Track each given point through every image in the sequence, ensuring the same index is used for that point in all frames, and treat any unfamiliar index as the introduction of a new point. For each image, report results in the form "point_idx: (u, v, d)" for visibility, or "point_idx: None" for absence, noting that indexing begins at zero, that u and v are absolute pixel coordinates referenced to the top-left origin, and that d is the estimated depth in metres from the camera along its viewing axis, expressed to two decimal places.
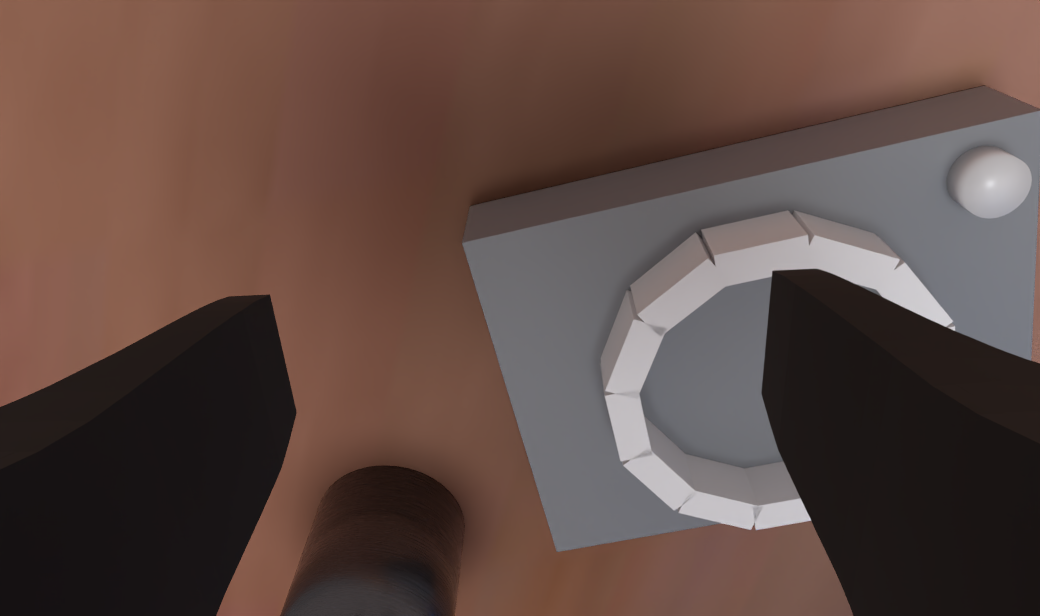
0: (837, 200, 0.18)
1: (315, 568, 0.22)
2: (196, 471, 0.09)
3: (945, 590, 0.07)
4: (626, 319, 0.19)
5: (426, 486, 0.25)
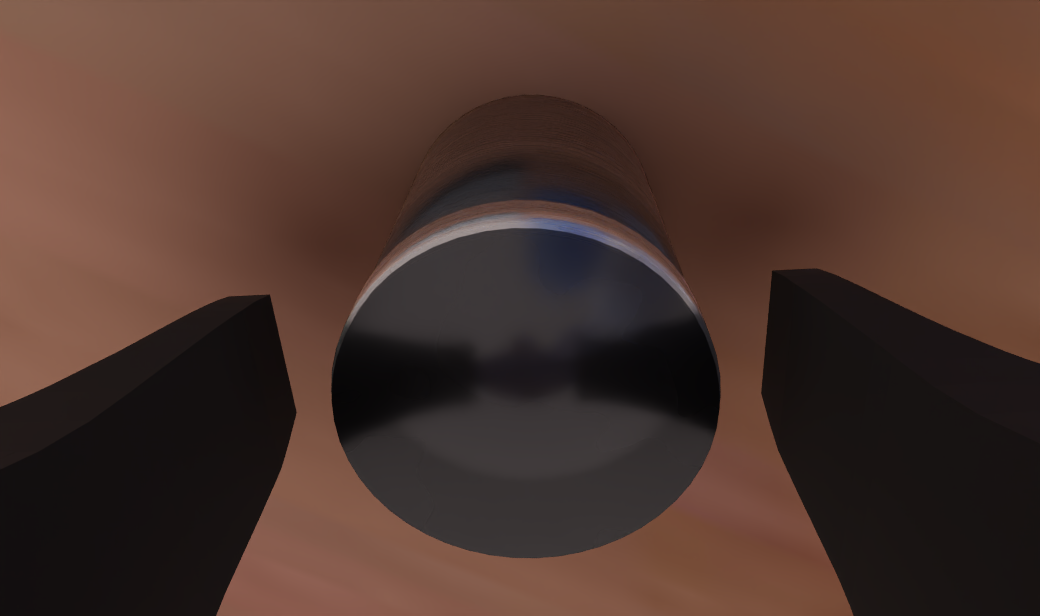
0: None
1: None
2: (196, 471, 0.09)
3: (945, 590, 0.07)
4: None
5: (439, 140, 0.15)
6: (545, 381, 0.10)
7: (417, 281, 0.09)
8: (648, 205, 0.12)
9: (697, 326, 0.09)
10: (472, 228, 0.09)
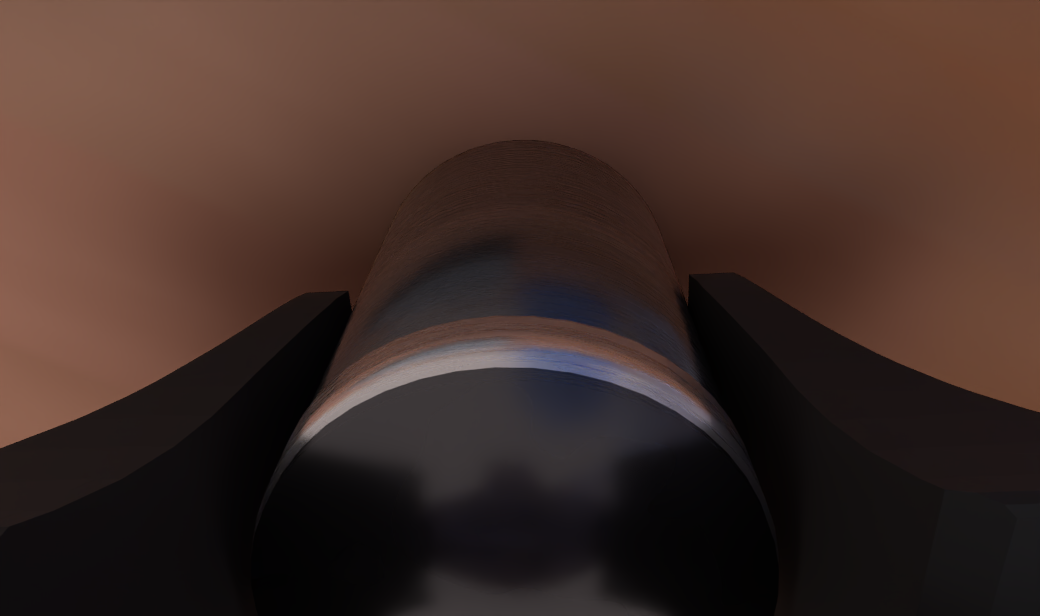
0: None
1: None
2: None
3: (810, 594, 0.07)
4: None
5: (412, 195, 0.12)
6: (541, 563, 0.07)
7: (362, 440, 0.07)
8: (672, 294, 0.09)
9: (752, 497, 0.07)
10: (437, 365, 0.07)
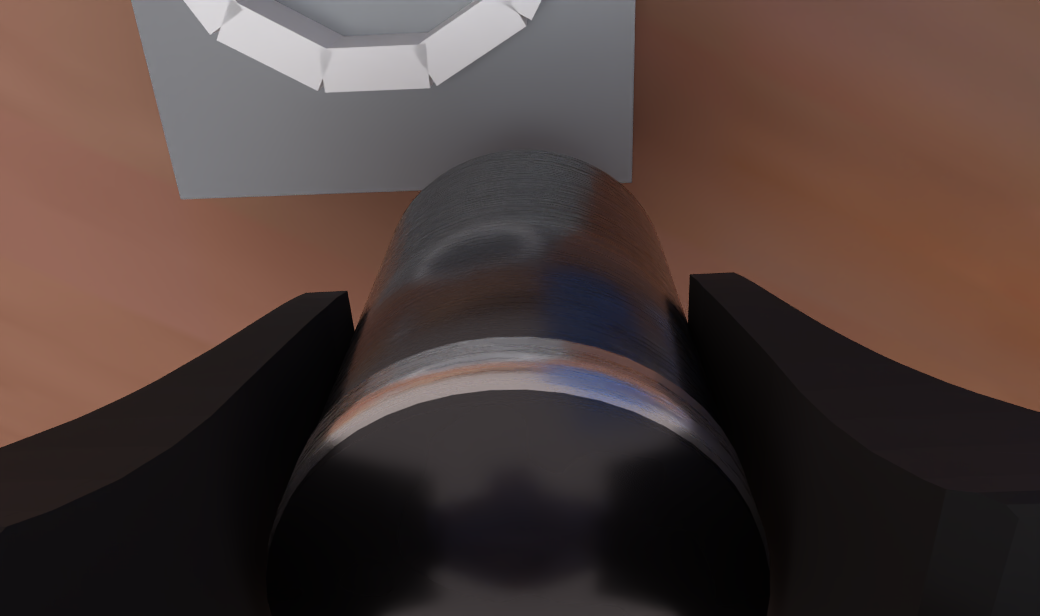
0: None
1: None
2: (291, 467, 0.09)
3: (811, 594, 0.07)
4: None
5: (412, 207, 0.13)
6: (542, 571, 0.07)
7: (366, 462, 0.07)
8: (665, 303, 0.10)
9: (740, 505, 0.07)
10: (436, 390, 0.07)
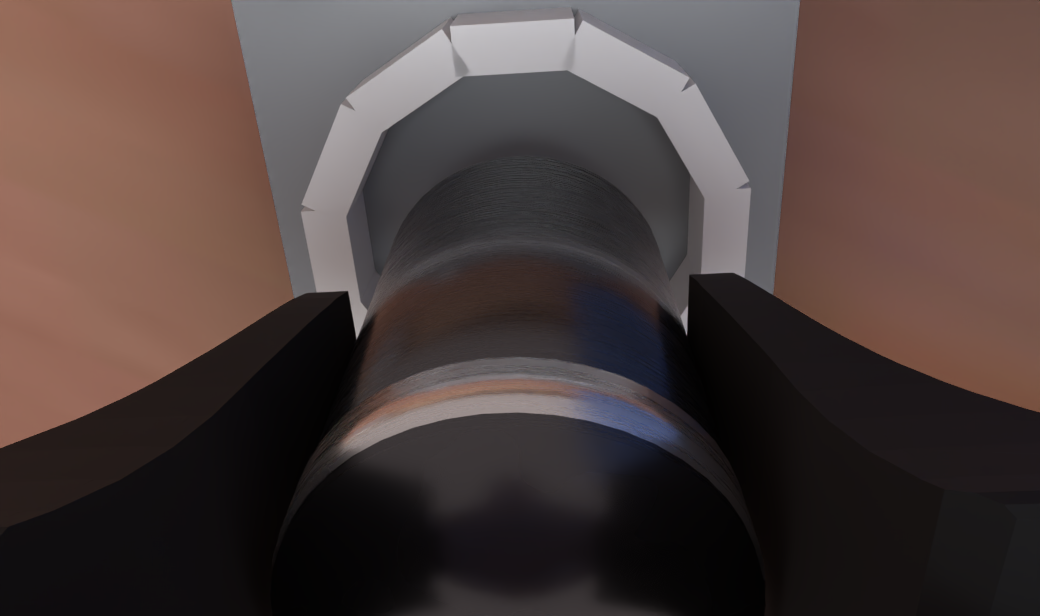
0: (312, 129, 0.15)
1: None
2: (293, 467, 0.09)
3: (810, 594, 0.07)
4: None
5: (409, 217, 0.13)
6: (540, 586, 0.08)
7: (363, 486, 0.07)
8: (660, 311, 0.10)
9: (732, 519, 0.07)
10: (430, 414, 0.07)
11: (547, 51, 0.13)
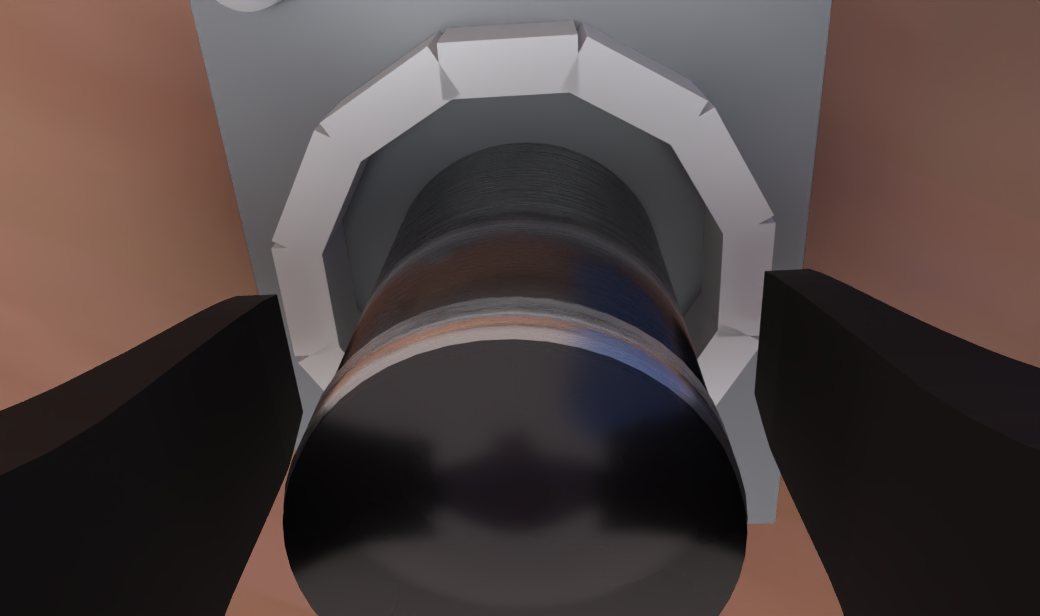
0: (285, 155, 0.14)
1: None
2: (205, 471, 0.09)
3: (933, 591, 0.07)
4: None
5: (417, 199, 0.13)
6: (535, 512, 0.08)
7: (371, 409, 0.08)
8: (651, 274, 0.10)
9: (714, 443, 0.08)
10: (432, 342, 0.08)
11: (547, 71, 0.11)
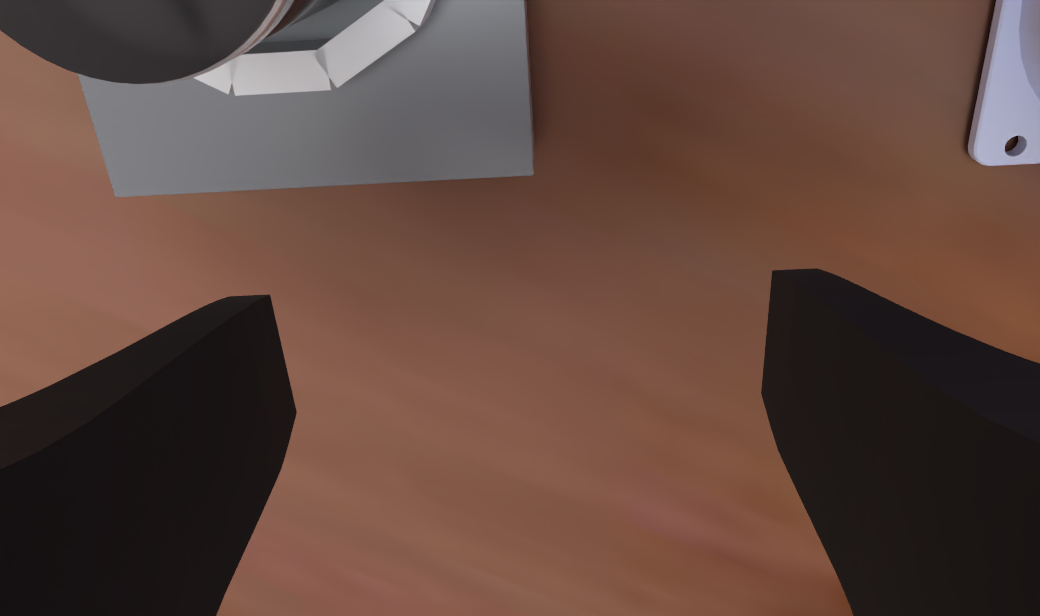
0: None
1: None
2: (196, 471, 0.09)
3: (946, 590, 0.07)
4: None
5: None
6: None
7: None
8: None
9: None
10: None
11: None
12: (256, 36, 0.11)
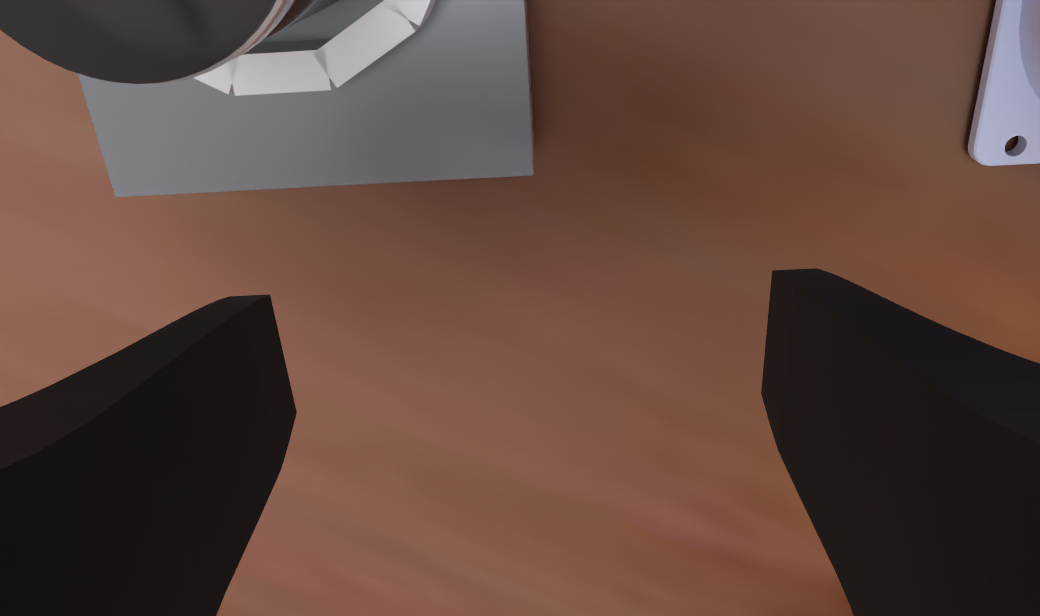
0: None
1: None
2: (196, 471, 0.09)
3: (946, 590, 0.07)
4: None
5: None
6: None
7: None
8: None
9: None
10: None
11: None
12: (257, 36, 0.11)
